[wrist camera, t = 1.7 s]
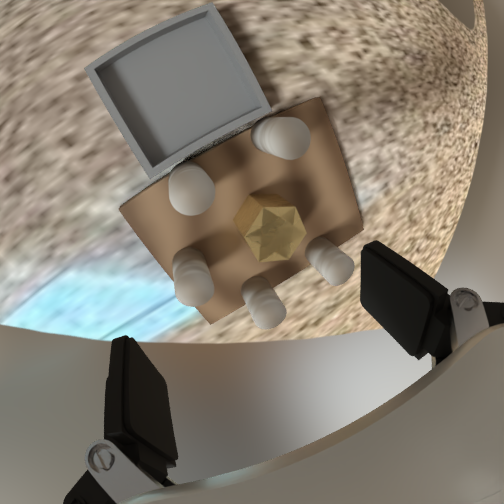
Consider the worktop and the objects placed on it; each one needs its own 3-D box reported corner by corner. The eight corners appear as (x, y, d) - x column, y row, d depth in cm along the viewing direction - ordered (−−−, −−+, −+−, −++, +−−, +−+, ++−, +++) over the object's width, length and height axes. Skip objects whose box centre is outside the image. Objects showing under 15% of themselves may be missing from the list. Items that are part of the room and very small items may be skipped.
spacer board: (313, 94, 28) (349, 91, 22) (359, 229, 39) (390, 249, 33) (117, 202, 27) (105, 225, 21) (210, 321, 38) (221, 357, 32)
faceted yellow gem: (225, 207, 30) (236, 223, 26) (271, 181, 30) (289, 192, 26) (251, 253, 34) (265, 273, 30) (292, 228, 34) (311, 245, 30)
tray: (207, 12, 20) (212, 2, 18) (262, 111, 28) (272, 110, 25) (91, 73, 20) (84, 68, 17) (151, 173, 27) (149, 179, 25)
